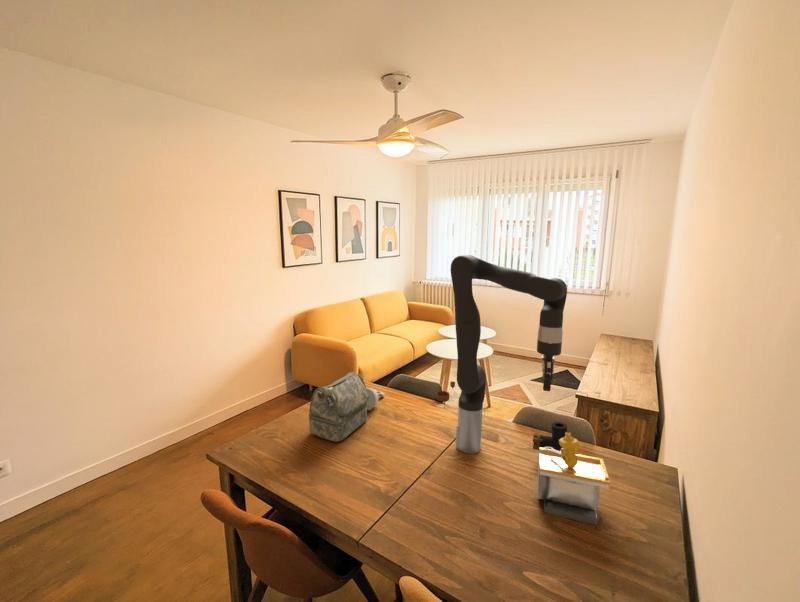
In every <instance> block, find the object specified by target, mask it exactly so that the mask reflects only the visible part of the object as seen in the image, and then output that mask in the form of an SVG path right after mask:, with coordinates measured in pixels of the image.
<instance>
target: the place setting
mask: <svg viewBox="0 0 800 602" xmlns="http://www.w3.org/2000/svg"><path fill="white" fill-rule="evenodd" d="M450 387H451V389H454V388H455V387H456V382H455V381H450ZM450 397H451V396H450V392H448V391H445V390H439V391H436V392H435V399H436V401H438V402H441V403H443V402H445V403H446V402H448V401H449V400H450Z"/></svg>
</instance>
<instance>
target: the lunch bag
mask: <svg viewBox="0 0 800 602" xmlns="http://www.w3.org/2000/svg"><path fill="white" fill-rule="evenodd" d="M366 388H367V385H366V383H365V381H364V378H363V376H362V375H361V374H359V373H357V372H353V371H352V372H351V371H350V372H348V373H346V374H345V375H344V376H342V377H341V378H339V379H337V380H335V381H334V382H332V383H331V384H328V385H325V386H321V387H319V386H318V387H317V388H316V389H315V390H314V391H313V394H312V395H311V398H310V404H309V413H308V423H309V432H310V433H311V434H312V435H314V436H316V437H319V438H321V439H324V440H326V441H327V440H328V441H331V442H337V443H338V442H342V441H343V440H344V439H346V438H347V437H348V436H349V435H351V434H352V433H353V432H354V431H355V430H357V429H358V428H359V427H361V426H362V425H363V424H364V423H365V422H367V421H368V410H367V401H368V399H369V396H368V391H367V389H366Z"/></svg>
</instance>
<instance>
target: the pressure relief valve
mask: <svg viewBox="0 0 800 602" xmlns="http://www.w3.org/2000/svg"><path fill="white" fill-rule="evenodd" d="M559 444H560V446H561V447H563V448H561V452H560V451H558V450H555V449H553V448H552V447H544V450H546V451H551V452H554V453H557V454H559V455H562V460H563V461H564V462H565V464H566V465H568V467H569V468H574V467H575V466H576V465H577V463H578V462H577V458H576V454H579V449H578V447H580V441H579V440H578V439H577V438H575V437H573V436H572V434H571V432H568V431H567V432H566V433H565V437H563V438H561V439H560V440H559ZM546 448H551V449H550V450H548V449H546ZM564 454H565V455H564Z"/></svg>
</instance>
